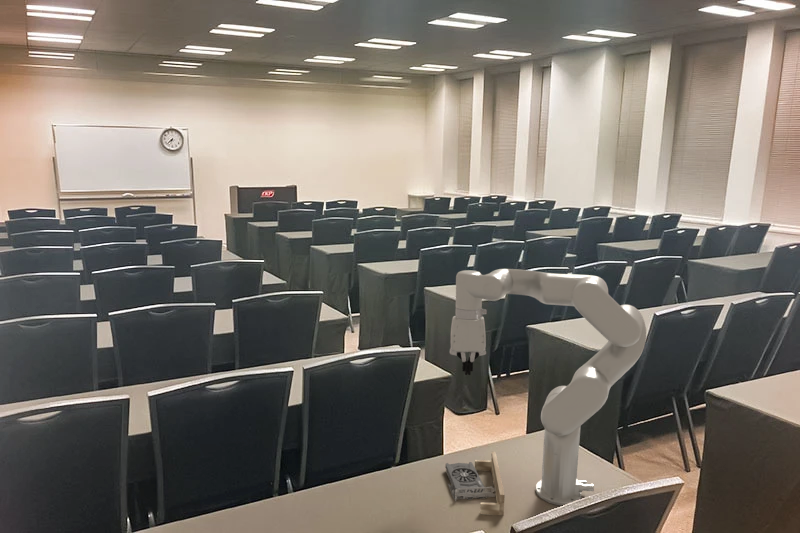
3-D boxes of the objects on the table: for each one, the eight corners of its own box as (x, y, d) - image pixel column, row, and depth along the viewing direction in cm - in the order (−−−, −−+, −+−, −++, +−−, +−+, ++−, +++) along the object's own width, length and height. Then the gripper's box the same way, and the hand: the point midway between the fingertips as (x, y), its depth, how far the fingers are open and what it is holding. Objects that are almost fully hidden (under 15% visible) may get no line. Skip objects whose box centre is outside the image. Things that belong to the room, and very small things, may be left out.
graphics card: (497, 488, 159) (455, 490, 157) (496, 501, 159) (454, 503, 158) (480, 459, 175) (442, 460, 173) (480, 470, 176) (442, 471, 174)
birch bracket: (494, 469, 174) (495, 451, 173) (503, 515, 152) (504, 494, 150) (474, 468, 174) (475, 450, 173) (480, 514, 152) (481, 493, 151)
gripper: (492, 310, 167) (491, 369, 170) (442, 309, 168) (441, 368, 171) (496, 316, 160) (494, 378, 163) (443, 316, 161) (442, 377, 164)
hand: (467, 373), depth 167 cm, fingers closed
